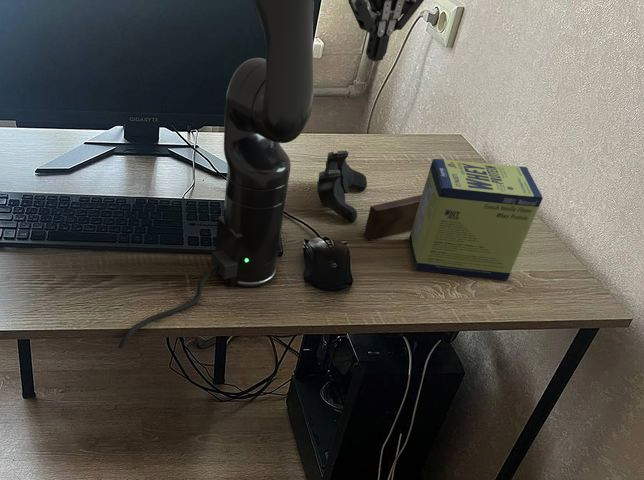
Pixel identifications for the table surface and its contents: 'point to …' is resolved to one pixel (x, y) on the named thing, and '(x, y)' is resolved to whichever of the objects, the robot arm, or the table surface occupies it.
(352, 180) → the game controller
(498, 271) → the protein box
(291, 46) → the robot arm
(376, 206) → the bar
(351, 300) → the table surface
